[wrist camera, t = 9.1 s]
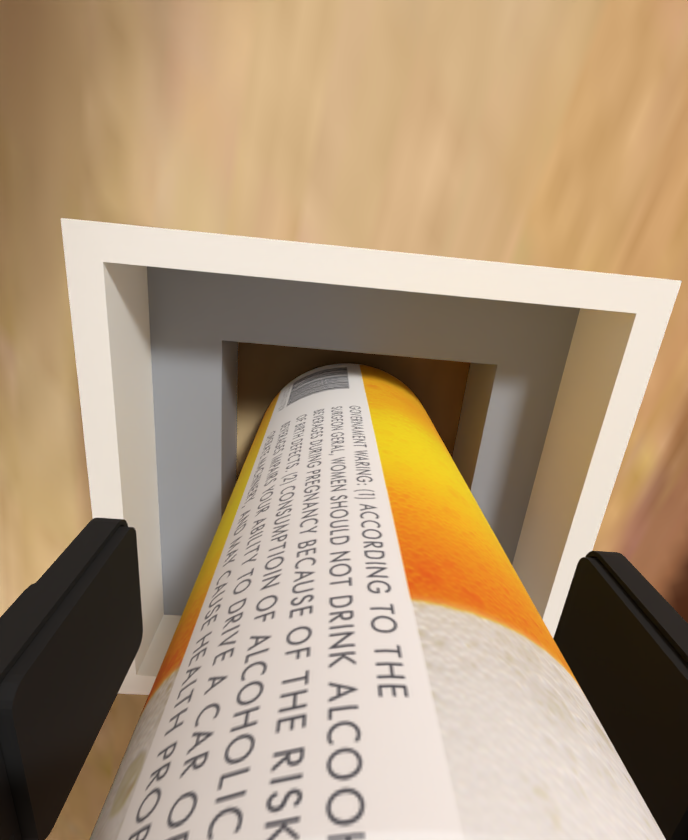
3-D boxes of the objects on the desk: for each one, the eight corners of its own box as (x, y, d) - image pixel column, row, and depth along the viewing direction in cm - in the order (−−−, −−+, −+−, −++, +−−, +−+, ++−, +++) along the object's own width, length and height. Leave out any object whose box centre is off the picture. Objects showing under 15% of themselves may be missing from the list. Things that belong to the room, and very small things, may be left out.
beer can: (307, 533, 18) (226, 1453, 4) (231, 401, 16) (-367, 1304, 2) (451, 474, 18) (909, 1359, 4) (388, 328, 16) (866, 1027, 2)
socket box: (148, 227, 14) (60, 217, 10) (573, 270, 15) (682, 280, 10) (165, 583, 19) (111, 693, 14) (489, 603, 20) (537, 713, 15)
